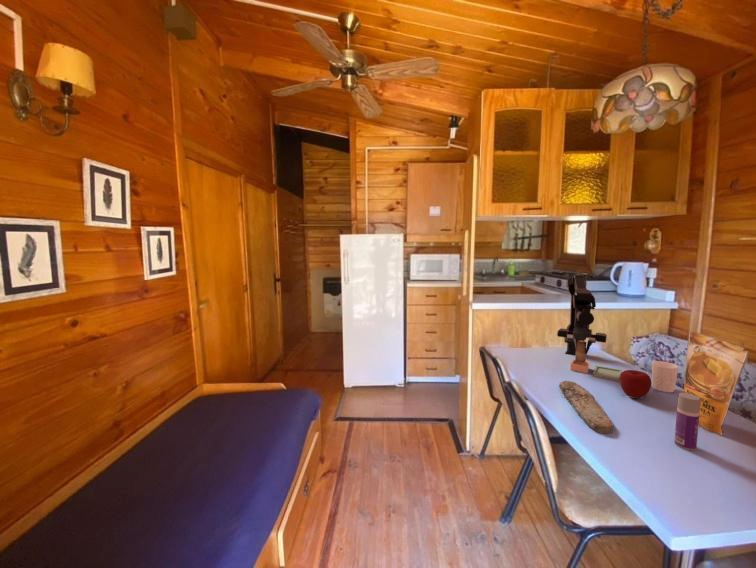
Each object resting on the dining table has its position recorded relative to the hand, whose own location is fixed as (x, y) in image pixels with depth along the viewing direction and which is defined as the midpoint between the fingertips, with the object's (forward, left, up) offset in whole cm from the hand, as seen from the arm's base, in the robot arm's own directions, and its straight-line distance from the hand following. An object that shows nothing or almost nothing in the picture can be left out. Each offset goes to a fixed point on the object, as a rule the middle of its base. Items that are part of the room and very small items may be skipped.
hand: (580, 353), depth 153 cm
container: (+48, +32, -8) cm, 58 cm away
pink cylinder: (+4, +29, -8) cm, 30 cm away
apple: (+18, +20, -8) cm, 28 cm away
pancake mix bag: (+28, +38, -8) cm, 48 cm away
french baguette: (+38, +5, -9) cm, 39 cm away
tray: (0, +10, -8) cm, 13 cm away
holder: (0, 0, -8) cm, 8 cm away
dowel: (0, 0, -4) cm, 4 cm away
